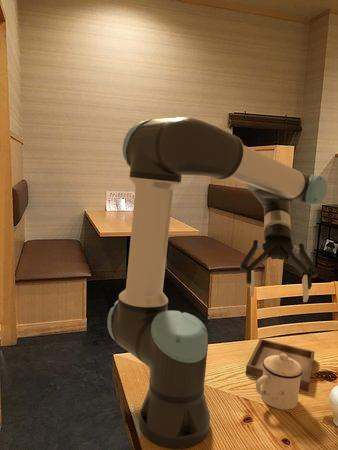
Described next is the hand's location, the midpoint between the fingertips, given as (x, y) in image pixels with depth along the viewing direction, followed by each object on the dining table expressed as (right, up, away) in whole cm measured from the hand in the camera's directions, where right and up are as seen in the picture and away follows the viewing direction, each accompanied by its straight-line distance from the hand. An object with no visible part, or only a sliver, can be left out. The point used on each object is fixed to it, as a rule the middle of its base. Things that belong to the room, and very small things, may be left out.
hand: (278, 297), depth 98 cm
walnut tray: (+3, -21, +9) cm, 23 cm away
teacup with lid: (-3, -24, -7) cm, 25 cm away
